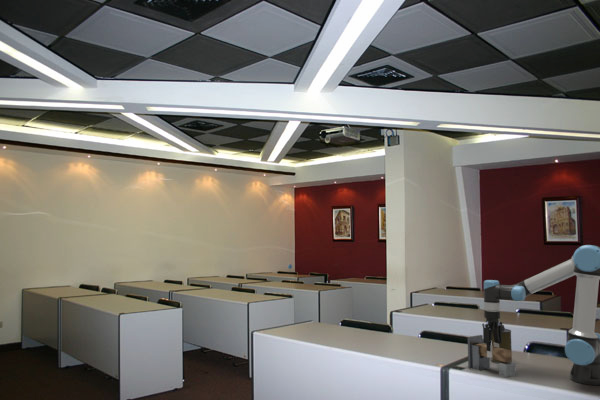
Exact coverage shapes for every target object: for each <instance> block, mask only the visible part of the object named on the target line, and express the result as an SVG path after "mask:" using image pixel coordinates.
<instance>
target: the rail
mask: <svg viewBox="0 0 600 400" xmlns="http://www.w3.org/2000/svg"><path fill="white" fill-rule="evenodd" d="M474 345H476V346H480V356H484V357H487V345H486V344H485V343H484V344H482V343H479V344H474ZM492 353H493V358H491V359H496V360H499V361H503V362H509V361H512V362H513V357H512V356H513V352H512V351H511V350H507V349H503V348H498V347H494V346H492ZM488 358H489V357H488Z"/></svg>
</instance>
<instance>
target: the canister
mask: <svg viewBox="0 0 600 400" xmlns="http://www.w3.org/2000/svg"><path fill="white" fill-rule="evenodd" d="M494 343H495V341H494V336H493V333H492V341H491V345H492V346H494ZM499 348H503V349H507V350H511V351H512V330H511V329H509V328H505V325H504V324H502V342H501V344H500V343H499ZM491 359H492V358H491ZM491 362H493V363H494V364H499V363H501V362H503V361H499V360H496V359H492V360H491ZM511 362H513V360H512V361H511Z"/></svg>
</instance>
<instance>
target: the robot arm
mask: <svg viewBox="0 0 600 400" xmlns="http://www.w3.org/2000/svg"><path fill="white" fill-rule="evenodd" d="M573 276H574V277H575V276H576V283H575V284H576V285H575V286H576V287H575V294H574V295H575V297H574V308H573V318H572V328H570V329H569V330H568V333H567V340H566V341H567V342H566V343H565V346H564V354H565V356H566V357H567V359H568V360H569V361H570V362H572V366H571V370H570V373H569V375H570V376H569V379H570V380H571V381H573V382H576V383H579V384H584V385H590V386H600V333H598V332H595V329H596V328H595V326H596V319H597V318H596V315H597V305H598V295H599V283H600V246H599V245H594V244H593V245H591V244H585V245H581V246H579V247H578V248H577V249H575V251H574V253H573V255H572V256H571V258H570V259H567V260H566V261H563V262H561V263H559V264H557V265H555V266H552V267H550V268H548V269H546V270H544V271H542V272H540V273H538V274H536V275H533V276H531V277H528V278H526V279H524V280H522V281H520V282H518V283H515V284H511V285H510V284H509V285H508V284H500V281H499V280H496V279H494V280H493V279H486V280H484V281H483V306H484V307H483V308H484V309H483V310H484V312H483V316H484V318H485V323H482V332H483V334H482V335H483V343H484V344H486V345H487V357H489V358H490V359H492V358H493V353H492V333H493V336H494V341H495V343H494V347H498V348H499V343H500V344H501V342H502V325H503V321H499V320H500V319H501V312H500V310H501V305H500V300H501V301H503V300H504V301H513V302H523V301H525V299H526V298H527V297H528V296H530V295H532V294H534V293H536V292H539V291H541V290H544V289H546V288H548V287H551V286H553V285H555V284H557V283H560V282H562V281H565V280H567V279H569V278H572V277H573Z"/></svg>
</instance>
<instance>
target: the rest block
mask: <svg viewBox="0 0 600 400" xmlns="http://www.w3.org/2000/svg"><path fill="white" fill-rule="evenodd" d="M516 367H517V366H516V362H514V361H512V362H511V361H509V362H501V363H498V376H500V377H504V378H509V377H513V375H514V376H517V368H516Z"/></svg>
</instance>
